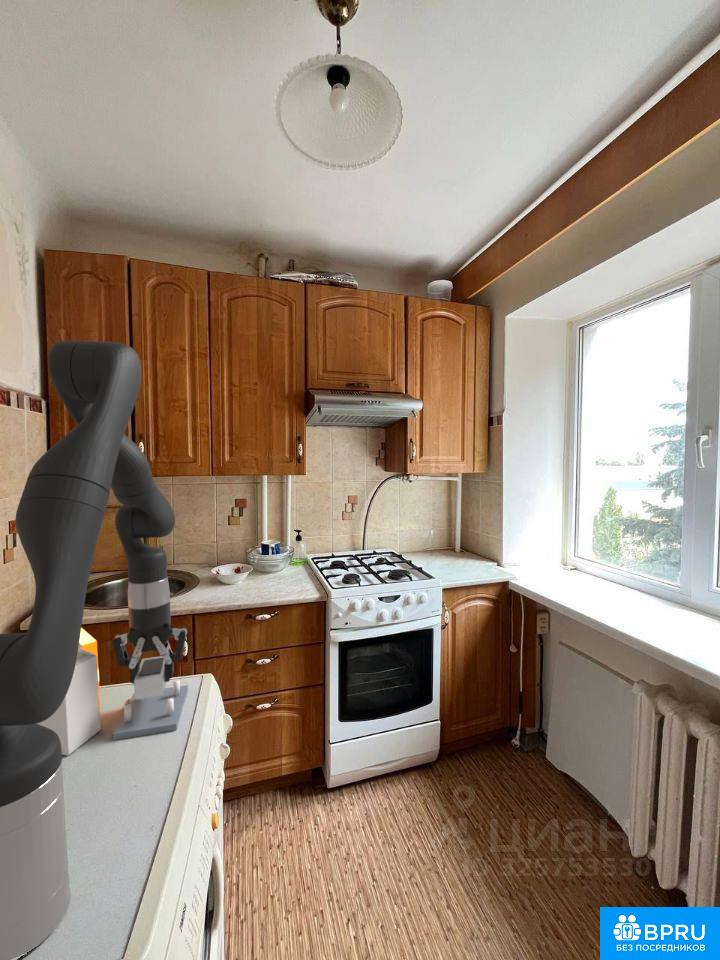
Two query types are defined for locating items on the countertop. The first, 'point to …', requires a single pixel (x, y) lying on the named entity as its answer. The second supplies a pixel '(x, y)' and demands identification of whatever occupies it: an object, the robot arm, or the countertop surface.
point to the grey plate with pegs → (152, 713)
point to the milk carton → (78, 706)
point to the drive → (150, 678)
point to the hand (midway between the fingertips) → (152, 681)
